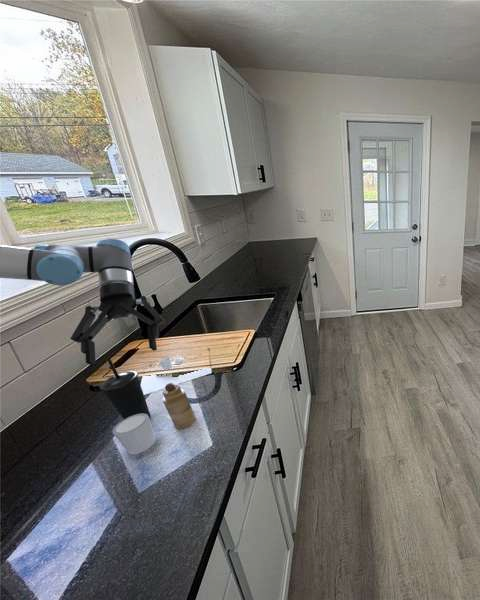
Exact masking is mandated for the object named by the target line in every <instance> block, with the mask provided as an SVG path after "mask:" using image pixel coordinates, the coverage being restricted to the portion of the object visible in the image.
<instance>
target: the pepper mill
mask: <svg viewBox="0 0 480 600" xmlns="http://www.w3.org/2000/svg"><path fill="white" fill-rule="evenodd" d="M162 394H163V397H162V402H163V404H164V406H165V408H166V411H167V413H168V415H169V418H170V420H171V422H172V425H173V426H174V428H175V429H176V428H177V430H183V429H186V428H188V427H191V425H193V424H194V423H195V422H196V420H197V417H196V415H195V413H194V409H193V407H192V405H191V403H190V401H189V398H188V396H187V393H186V391H185V390H184V389H182V388H181V387H180V385H179V384H176V385H174V384H173V383H169V384H167V385H166V387H165V388H164V389H162Z"/></svg>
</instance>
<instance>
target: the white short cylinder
mask: <svg viewBox="0 0 480 600" xmlns="http://www.w3.org/2000/svg"><path fill="white" fill-rule="evenodd" d="M112 434H113V435H114V436H115V438H116V439H117V440H118V442H119V443H120V444H121V446H122V447H123V448H124V450H126V452H127V454H128V455H132V456H134V455H138V454H141V453H145V452H146V451H147V450H149V449H150V448H151V447H153V446H154V444H155V443H156V442H157V441H156V439H157V438H156V434H155V432H154V429H153V426H152V422H151V418H150V419H149V416H148V415H147V414H143V413H141V414H136V415H133V416H130V417H128V418H126V419H122V420H120V422H117V424H116V425H115V426H114V427H113V429H112Z"/></svg>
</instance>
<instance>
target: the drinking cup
mask: <svg viewBox="0 0 480 600" xmlns="http://www.w3.org/2000/svg"><path fill="white" fill-rule="evenodd" d="M106 362H107V363H108V365H109V367H110V369H111V371H112V373H113V375H111V376H109V377H108V378H106V379H105V380H103V381H102V382H101V383H100V385H99V390H100V391H102V392H104V394H105V396H106V397H107V398H108V399H109V401H110V402H111V403H112V405H113V407H114V408H115V409H116V410H117V412H118V413H119V414H120V416H121V418H122V420H124V419H126V418H128V417H130V416H133V415H136V414H141V413H143V414H147V415H148V416H149V419H150V420H151V417H152V416H151V413H150V410H149V406H148V404H147V400H146V397H145V395H144V394H143V391H142V388H141V381H140V379H139V372H137V371H136V370H127V371H122V372H118V371H117V369H116V367H115V365H114V363H113V361H112V359H111V357H107V358H106Z"/></svg>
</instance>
